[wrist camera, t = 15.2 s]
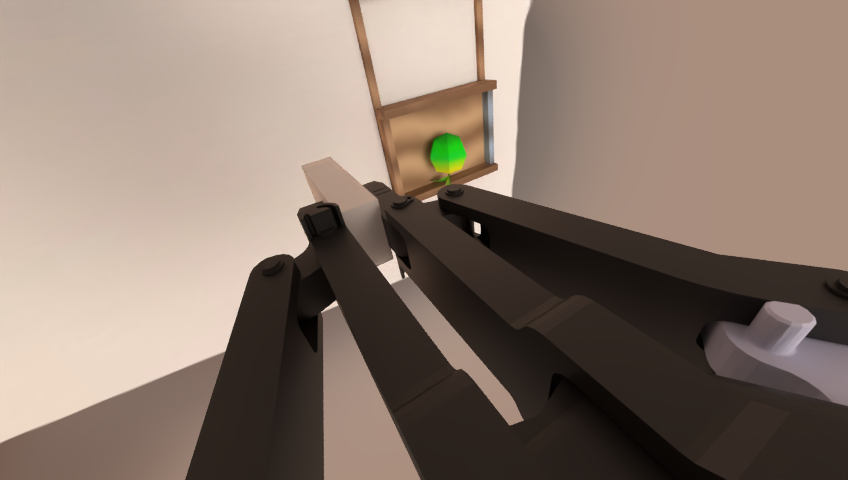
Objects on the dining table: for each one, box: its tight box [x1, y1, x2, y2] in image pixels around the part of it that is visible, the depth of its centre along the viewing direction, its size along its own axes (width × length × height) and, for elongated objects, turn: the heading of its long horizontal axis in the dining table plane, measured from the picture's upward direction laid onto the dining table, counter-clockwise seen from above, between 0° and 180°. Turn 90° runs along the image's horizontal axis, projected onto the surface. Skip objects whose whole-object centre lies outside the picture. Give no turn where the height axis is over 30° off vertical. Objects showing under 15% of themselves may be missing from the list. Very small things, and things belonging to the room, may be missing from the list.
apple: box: [430, 133, 467, 185], centre depth 50 cm, size 7×6×9 cm
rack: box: [349, 0, 498, 201], centre depth 47 cm, size 29×20×4 cm
